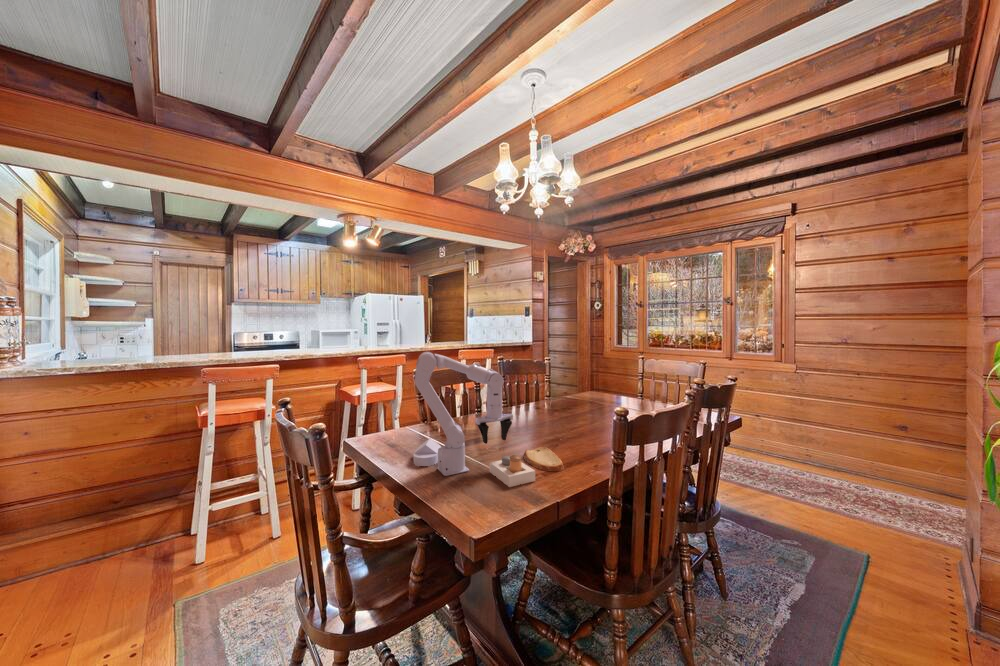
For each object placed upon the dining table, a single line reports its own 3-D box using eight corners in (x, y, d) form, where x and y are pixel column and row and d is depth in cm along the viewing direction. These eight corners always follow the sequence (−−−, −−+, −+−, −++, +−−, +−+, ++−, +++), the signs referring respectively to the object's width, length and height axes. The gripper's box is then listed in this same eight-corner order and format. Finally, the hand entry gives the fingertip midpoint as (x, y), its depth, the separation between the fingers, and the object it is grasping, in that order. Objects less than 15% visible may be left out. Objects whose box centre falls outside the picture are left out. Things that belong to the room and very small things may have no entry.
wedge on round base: (419, 454, 155) (410, 466, 142) (418, 437, 155) (410, 448, 142) (441, 454, 155) (435, 466, 142) (441, 438, 155) (435, 448, 142)
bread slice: (562, 473, 136) (562, 463, 136) (514, 466, 143) (514, 456, 143) (572, 456, 153) (572, 447, 153) (528, 451, 159) (528, 442, 159)
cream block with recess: (509, 487, 125) (509, 470, 124) (489, 472, 137) (489, 456, 137) (535, 481, 129) (535, 464, 129) (514, 466, 142) (514, 452, 141)
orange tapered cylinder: (513, 481, 128) (513, 460, 128) (507, 476, 132) (507, 456, 131) (524, 478, 130) (524, 458, 130) (517, 474, 134) (517, 454, 133)
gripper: (481, 409, 134) (481, 447, 135) (517, 404, 141) (517, 441, 142) (472, 405, 141) (473, 441, 141) (507, 400, 147) (507, 436, 148)
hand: (494, 441), depth 142 cm, fingers open, 7 cm apart
